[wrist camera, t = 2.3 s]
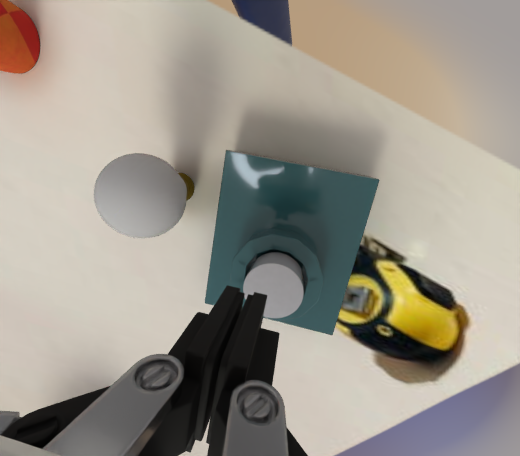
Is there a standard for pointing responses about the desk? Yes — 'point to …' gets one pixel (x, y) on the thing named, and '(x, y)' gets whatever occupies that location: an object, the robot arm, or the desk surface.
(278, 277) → the grey push button
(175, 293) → the desk surface
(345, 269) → the teal button base
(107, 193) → the light bulb
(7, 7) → the paper cup
